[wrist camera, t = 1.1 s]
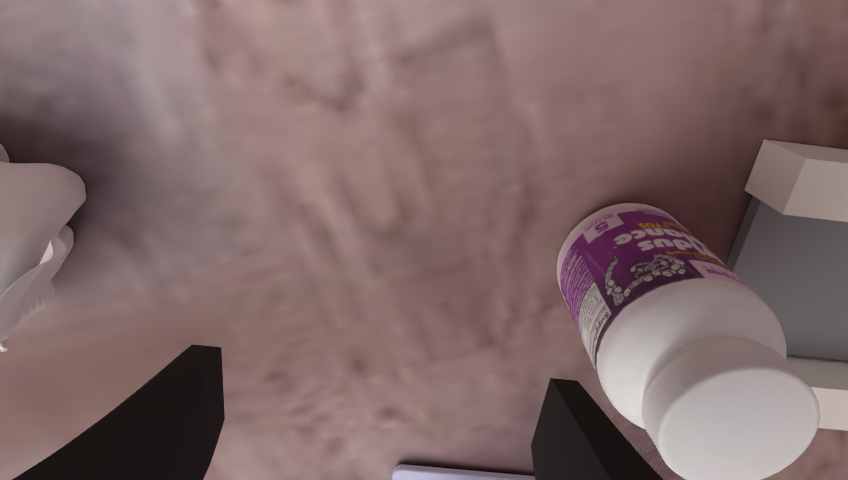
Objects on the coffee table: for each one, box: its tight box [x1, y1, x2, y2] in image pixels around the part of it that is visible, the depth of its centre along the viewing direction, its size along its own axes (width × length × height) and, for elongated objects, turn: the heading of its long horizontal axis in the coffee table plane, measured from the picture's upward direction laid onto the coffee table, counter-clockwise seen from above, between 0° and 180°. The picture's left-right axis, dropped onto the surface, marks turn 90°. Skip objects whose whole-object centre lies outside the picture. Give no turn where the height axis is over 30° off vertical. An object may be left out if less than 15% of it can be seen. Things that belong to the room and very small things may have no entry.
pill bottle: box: [557, 203, 820, 480], centre depth 18 cm, size 5×5×10 cm
